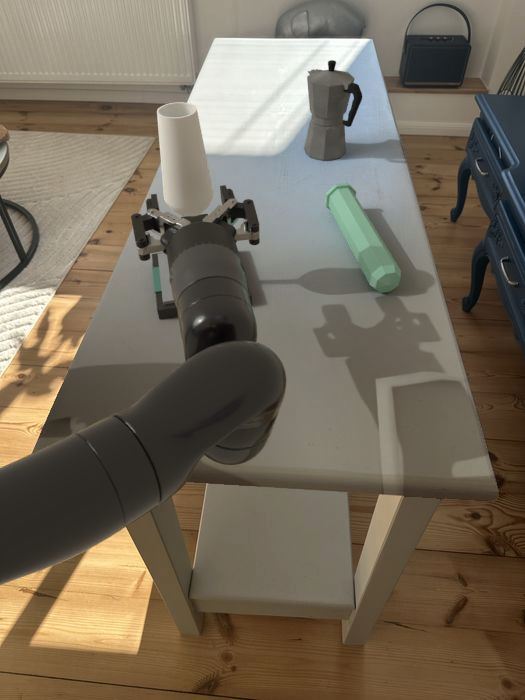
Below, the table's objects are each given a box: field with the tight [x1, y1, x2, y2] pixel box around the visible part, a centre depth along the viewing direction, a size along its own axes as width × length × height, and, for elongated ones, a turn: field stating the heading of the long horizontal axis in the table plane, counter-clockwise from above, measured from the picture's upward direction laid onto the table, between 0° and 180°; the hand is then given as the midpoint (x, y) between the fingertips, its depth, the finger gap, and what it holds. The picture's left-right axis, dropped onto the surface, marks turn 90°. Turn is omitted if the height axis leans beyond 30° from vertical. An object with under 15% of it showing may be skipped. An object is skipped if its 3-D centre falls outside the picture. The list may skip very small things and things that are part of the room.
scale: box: [151, 244, 253, 320], centre depth 76 cm, size 14×14×2 cm
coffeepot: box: [303, 59, 363, 161], centre depth 99 cm, size 15×9×18 cm, turn 36°
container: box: [324, 182, 402, 294], centre depth 80 cm, size 6×6×25 cm
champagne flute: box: [156, 101, 214, 217], centre depth 66 cm, size 7×7×24 cm
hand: (189, 196), depth 60 cm, fingers open, 8 cm apart
